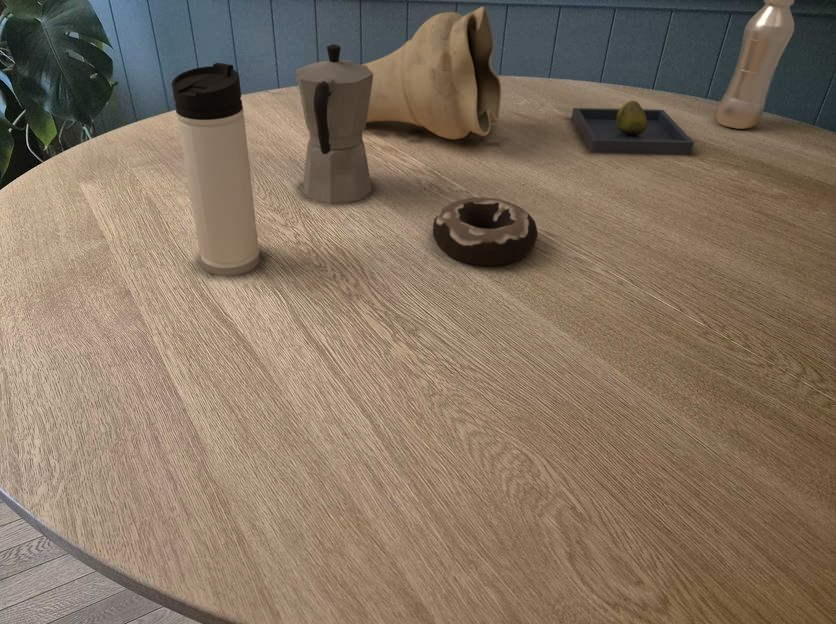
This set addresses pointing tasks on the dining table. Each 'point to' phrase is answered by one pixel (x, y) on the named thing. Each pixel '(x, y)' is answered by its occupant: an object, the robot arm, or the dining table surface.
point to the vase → (440, 78)
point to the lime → (631, 118)
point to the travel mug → (217, 167)
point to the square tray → (608, 138)
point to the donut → (485, 231)
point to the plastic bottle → (756, 64)
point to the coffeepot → (335, 128)
